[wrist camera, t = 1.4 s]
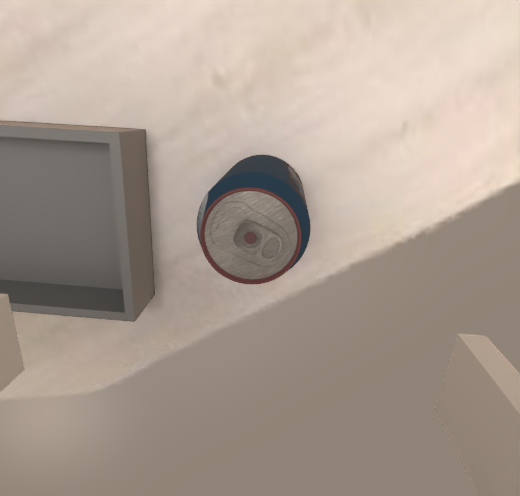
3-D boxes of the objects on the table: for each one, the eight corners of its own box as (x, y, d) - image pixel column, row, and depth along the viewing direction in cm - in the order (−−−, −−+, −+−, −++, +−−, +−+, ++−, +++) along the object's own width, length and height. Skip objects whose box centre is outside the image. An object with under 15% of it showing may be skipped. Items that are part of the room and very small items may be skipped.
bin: (-53, 277, 36) (-103, 301, 32) (-100, 114, 31) (-169, 114, 26) (154, 294, 35) (134, 321, 31) (145, 129, 30) (119, 132, 25)
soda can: (210, 208, 32) (170, 260, 21) (246, 137, 30) (222, 152, 18) (278, 244, 33) (274, 313, 22) (318, 178, 30) (336, 216, 19)
